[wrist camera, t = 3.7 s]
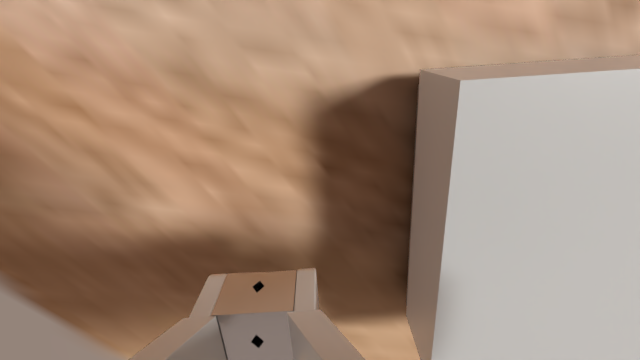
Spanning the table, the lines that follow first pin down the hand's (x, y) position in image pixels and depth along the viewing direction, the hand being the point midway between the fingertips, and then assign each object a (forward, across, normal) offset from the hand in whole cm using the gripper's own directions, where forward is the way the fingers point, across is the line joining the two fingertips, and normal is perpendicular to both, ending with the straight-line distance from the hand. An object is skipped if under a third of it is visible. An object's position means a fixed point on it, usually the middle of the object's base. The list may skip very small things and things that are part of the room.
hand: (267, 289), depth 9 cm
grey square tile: (+4, -10, 0) cm, 11 cm away
